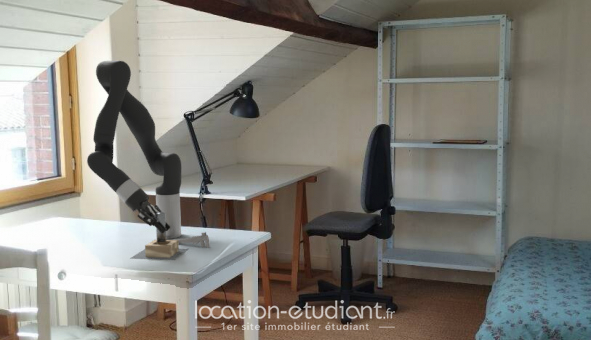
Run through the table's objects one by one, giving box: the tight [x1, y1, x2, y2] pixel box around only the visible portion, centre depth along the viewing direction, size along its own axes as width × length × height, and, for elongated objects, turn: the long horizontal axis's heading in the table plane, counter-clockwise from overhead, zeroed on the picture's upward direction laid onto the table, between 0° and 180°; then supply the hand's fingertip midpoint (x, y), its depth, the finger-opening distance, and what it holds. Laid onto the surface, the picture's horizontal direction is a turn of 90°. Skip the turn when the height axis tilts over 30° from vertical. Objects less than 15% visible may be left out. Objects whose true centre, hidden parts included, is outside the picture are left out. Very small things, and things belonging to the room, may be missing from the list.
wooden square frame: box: [144, 239, 180, 258], centre depth 229 cm, size 9×9×4 cm
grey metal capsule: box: [155, 212, 167, 242], centre depth 227 cm, size 3×3×10 cm
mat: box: [129, 248, 189, 261], centre depth 230 cm, size 15×16×1 cm
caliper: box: [175, 231, 210, 249], centre depth 242 cm, size 20×1×6 cm, turn 63°
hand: (166, 230), depth 227 cm, fingers closed on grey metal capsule, 3 cm apart
